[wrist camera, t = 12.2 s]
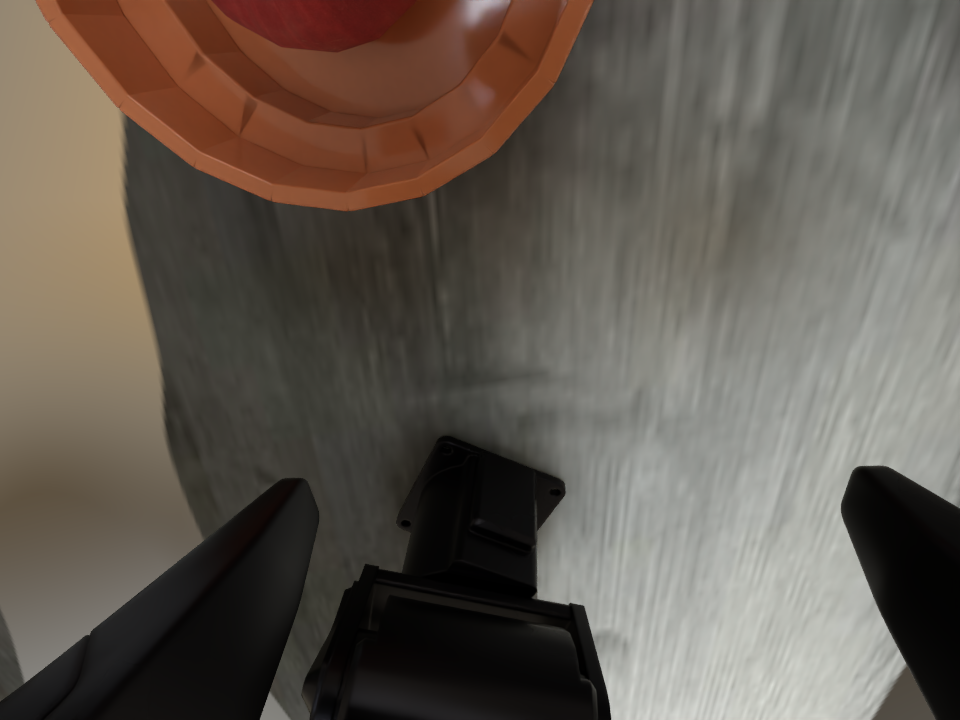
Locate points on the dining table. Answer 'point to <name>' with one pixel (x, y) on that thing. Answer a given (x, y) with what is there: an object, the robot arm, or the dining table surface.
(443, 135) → the bowl
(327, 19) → the onion
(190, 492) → the dining table surface
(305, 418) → the dining table surface
